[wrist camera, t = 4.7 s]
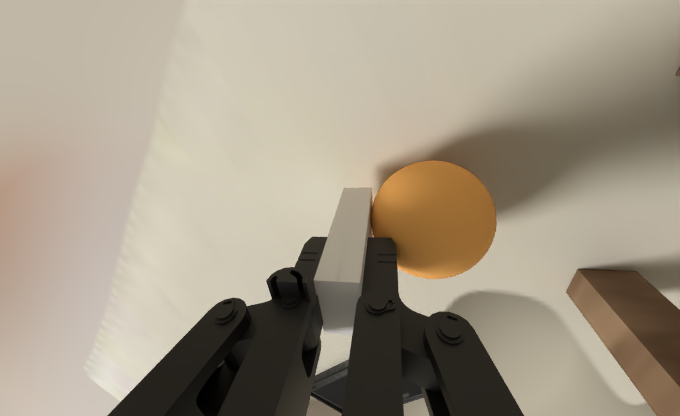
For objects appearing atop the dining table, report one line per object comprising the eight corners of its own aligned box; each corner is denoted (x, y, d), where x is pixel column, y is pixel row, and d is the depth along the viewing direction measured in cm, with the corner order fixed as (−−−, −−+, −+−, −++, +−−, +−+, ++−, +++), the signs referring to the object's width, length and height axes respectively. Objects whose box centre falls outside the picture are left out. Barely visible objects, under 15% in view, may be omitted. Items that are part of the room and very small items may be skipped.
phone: (299, 389, 28) (405, 340, 21) (302, 377, 29) (404, 327, 22) (353, 420, 30) (467, 385, 23) (354, 408, 31) (464, 371, 24)
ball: (388, 143, 14) (504, 147, 12) (388, 226, 17) (483, 242, 15) (349, 185, 10) (518, 203, 8) (357, 287, 13) (484, 321, 11)
